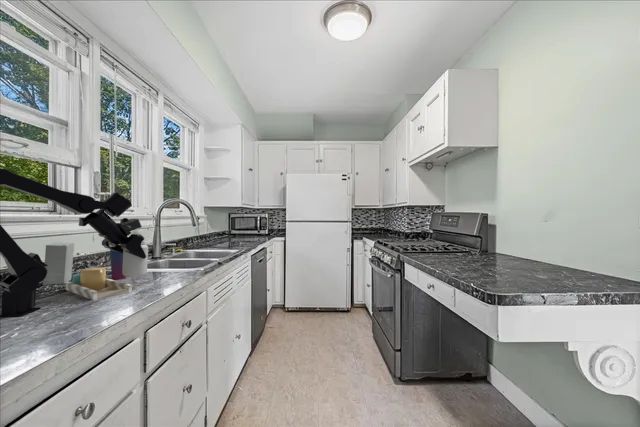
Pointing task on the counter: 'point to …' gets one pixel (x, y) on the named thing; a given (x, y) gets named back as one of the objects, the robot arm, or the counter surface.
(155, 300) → the counter surface
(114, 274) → the cup
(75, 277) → the pusher plate
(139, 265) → the can
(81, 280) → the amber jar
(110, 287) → the tray
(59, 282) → the skincare box
